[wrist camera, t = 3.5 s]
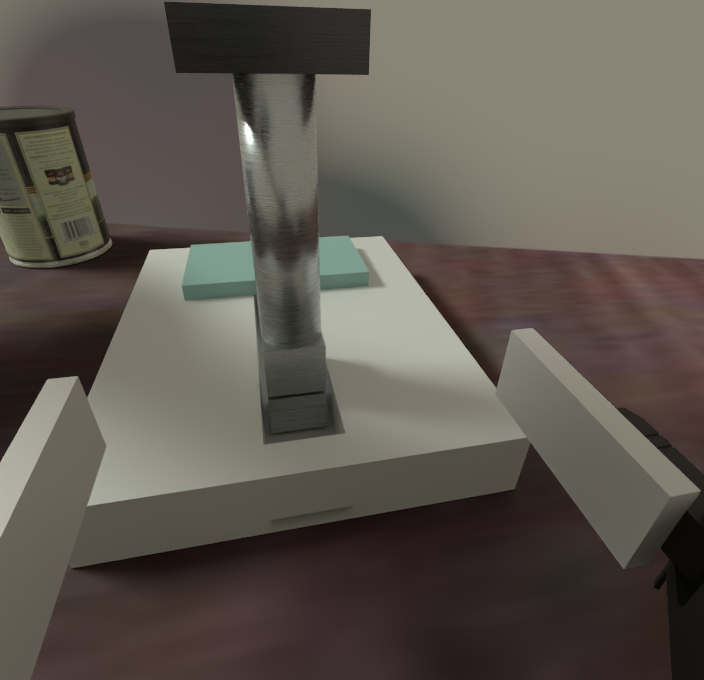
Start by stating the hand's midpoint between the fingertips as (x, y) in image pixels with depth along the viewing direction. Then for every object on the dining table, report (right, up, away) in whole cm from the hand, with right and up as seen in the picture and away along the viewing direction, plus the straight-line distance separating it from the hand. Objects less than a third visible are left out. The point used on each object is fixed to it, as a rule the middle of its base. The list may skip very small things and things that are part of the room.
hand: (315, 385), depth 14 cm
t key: (-2, -3, +13) cm, 14 cm away
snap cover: (-5, +7, +23) cm, 25 cm away
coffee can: (-32, +11, +37) cm, 50 cm away
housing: (-4, 0, +20) cm, 20 cm away
